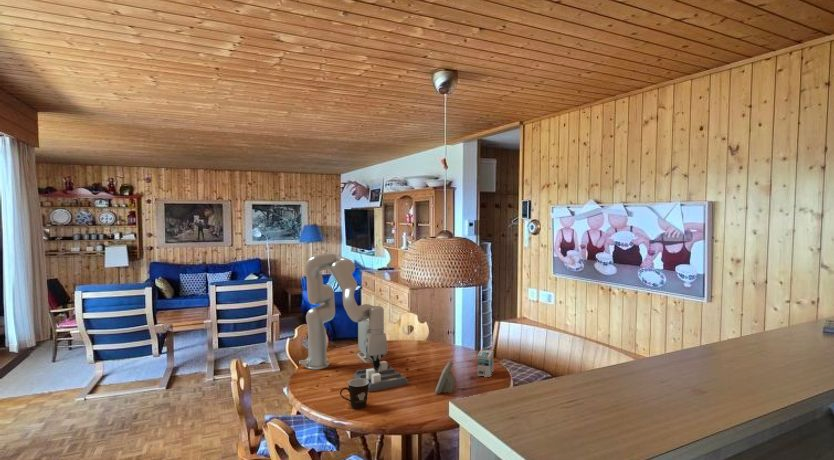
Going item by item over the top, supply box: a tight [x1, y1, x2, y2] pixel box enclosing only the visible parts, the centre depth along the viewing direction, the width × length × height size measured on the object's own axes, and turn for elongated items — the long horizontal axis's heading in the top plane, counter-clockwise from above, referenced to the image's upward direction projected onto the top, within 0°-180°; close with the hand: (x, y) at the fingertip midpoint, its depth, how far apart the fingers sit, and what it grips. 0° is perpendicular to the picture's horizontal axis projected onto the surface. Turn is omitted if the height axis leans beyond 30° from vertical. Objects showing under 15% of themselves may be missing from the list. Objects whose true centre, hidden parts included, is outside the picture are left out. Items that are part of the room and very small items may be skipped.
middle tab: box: [365, 367, 375, 379], centre depth 203 cm, size 4×3×4 cm
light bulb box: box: [476, 349, 494, 378], centre depth 214 cm, size 11×7×11 cm, turn 161°
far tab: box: [379, 360, 388, 371], centre depth 213 cm, size 4×3×4 cm
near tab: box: [371, 373, 381, 383], centre depth 197 cm, size 4×3×4 cm
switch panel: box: [353, 364, 409, 393], centre depth 205 cm, size 20×20×3 cm
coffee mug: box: [339, 378, 369, 410], centre depth 177 cm, size 12×9×10 cm
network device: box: [357, 319, 377, 364], centre depth 239 cm, size 26×9×20 cm, turn 25°
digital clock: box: [434, 361, 456, 395], centre depth 196 cm, size 16×9×11 cm, turn 153°
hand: (376, 367), depth 212 cm, fingers closed
